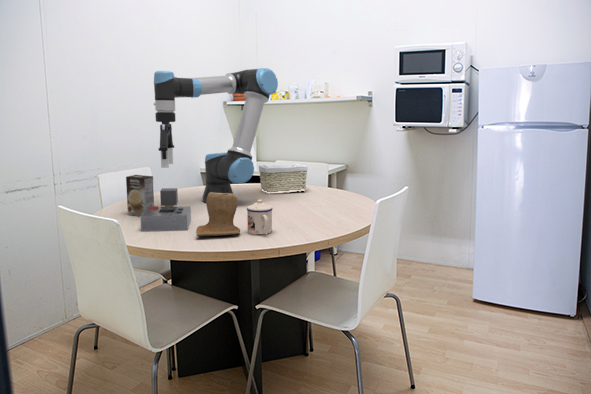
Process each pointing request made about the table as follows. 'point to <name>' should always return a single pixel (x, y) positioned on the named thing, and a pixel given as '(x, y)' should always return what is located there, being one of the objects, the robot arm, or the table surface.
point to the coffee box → (139, 194)
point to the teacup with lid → (259, 218)
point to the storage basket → (282, 177)
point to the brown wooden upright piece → (219, 215)
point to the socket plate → (166, 218)
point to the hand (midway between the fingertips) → (167, 165)
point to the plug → (169, 197)
